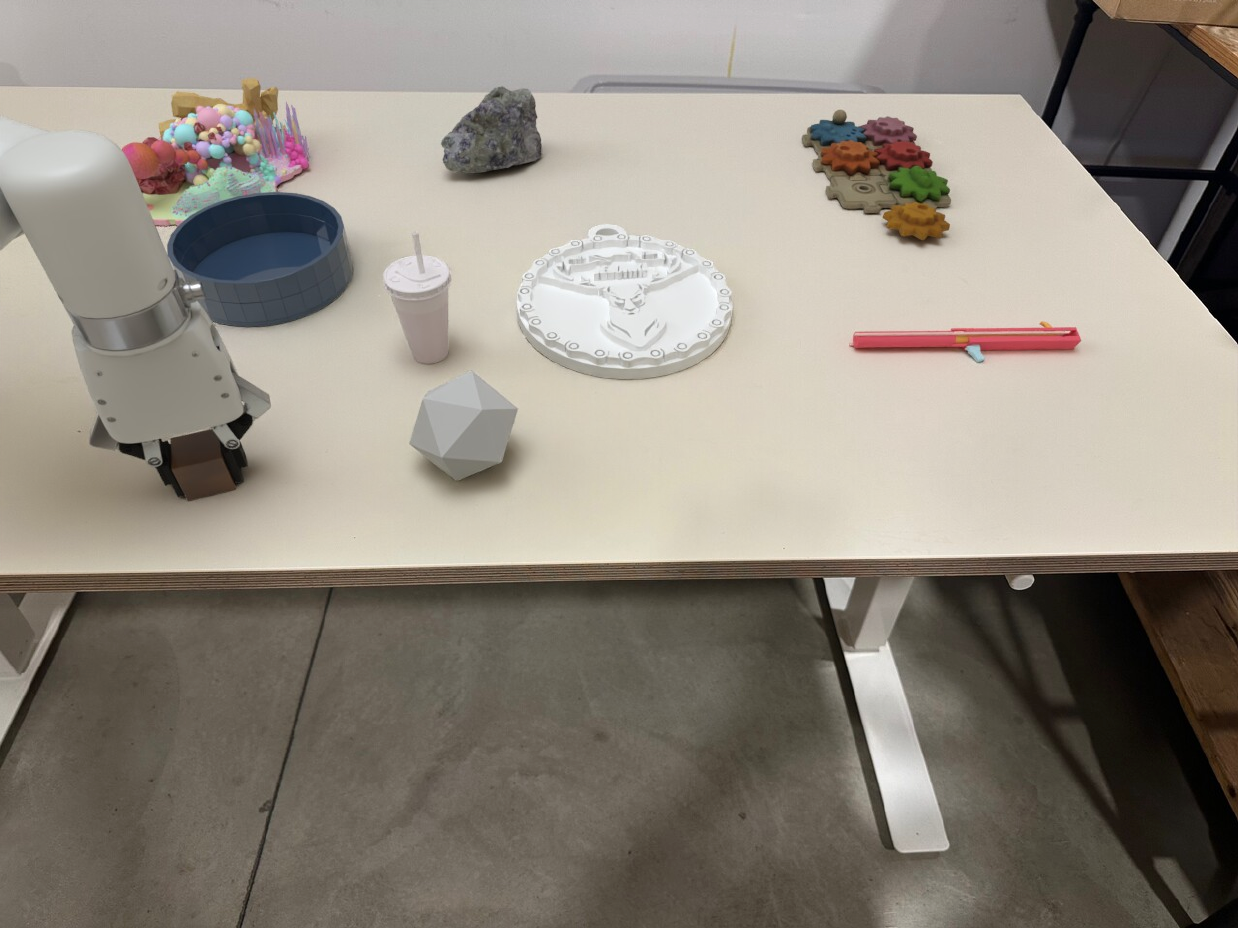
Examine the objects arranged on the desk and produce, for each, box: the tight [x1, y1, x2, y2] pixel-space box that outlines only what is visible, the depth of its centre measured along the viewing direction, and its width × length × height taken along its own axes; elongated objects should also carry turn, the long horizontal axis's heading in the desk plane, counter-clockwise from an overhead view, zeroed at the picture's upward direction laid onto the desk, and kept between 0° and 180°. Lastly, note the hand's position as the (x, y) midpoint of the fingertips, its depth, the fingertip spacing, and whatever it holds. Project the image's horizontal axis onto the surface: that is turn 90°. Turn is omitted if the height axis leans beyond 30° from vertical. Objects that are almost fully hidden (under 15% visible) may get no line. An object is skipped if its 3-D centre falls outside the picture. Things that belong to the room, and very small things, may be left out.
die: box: [408, 369, 519, 482], centre depth 76 cm, size 8×9×10 cm
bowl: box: [166, 191, 354, 328], centre depth 95 cm, size 18×18×6 cm
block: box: [169, 428, 237, 502], centre depth 75 cm, size 4×4×4 cm
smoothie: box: [382, 231, 452, 365], centre depth 84 cm, size 6×6×14 cm
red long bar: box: [848, 321, 1082, 363], centre depth 91 cm, size 24×2×5 cm
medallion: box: [516, 223, 734, 380], centre depth 95 cm, size 24×27×2 cm
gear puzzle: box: [801, 109, 952, 241], centre depth 114 cm, size 31×16×4 cm, turn 4°
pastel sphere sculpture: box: [121, 77, 311, 227], centre depth 110 cm, size 25×24×9 cm
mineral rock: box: [440, 85, 543, 174], centre depth 113 cm, size 13×11×10 cm
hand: (209, 477), depth 76 cm, fingers closed on block, 4 cm apart
